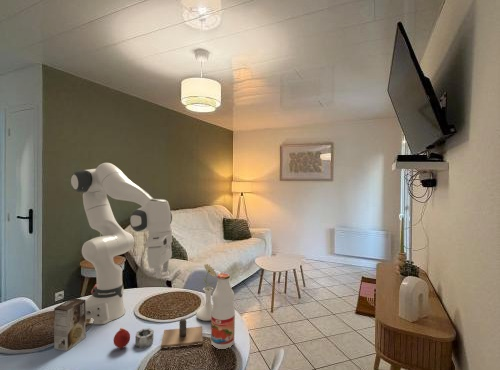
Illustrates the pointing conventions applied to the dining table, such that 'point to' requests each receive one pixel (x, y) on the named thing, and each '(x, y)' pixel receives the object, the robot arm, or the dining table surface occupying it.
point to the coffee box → (69, 324)
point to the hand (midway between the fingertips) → (162, 274)
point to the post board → (182, 335)
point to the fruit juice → (223, 313)
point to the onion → (121, 338)
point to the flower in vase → (207, 298)
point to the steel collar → (144, 338)
